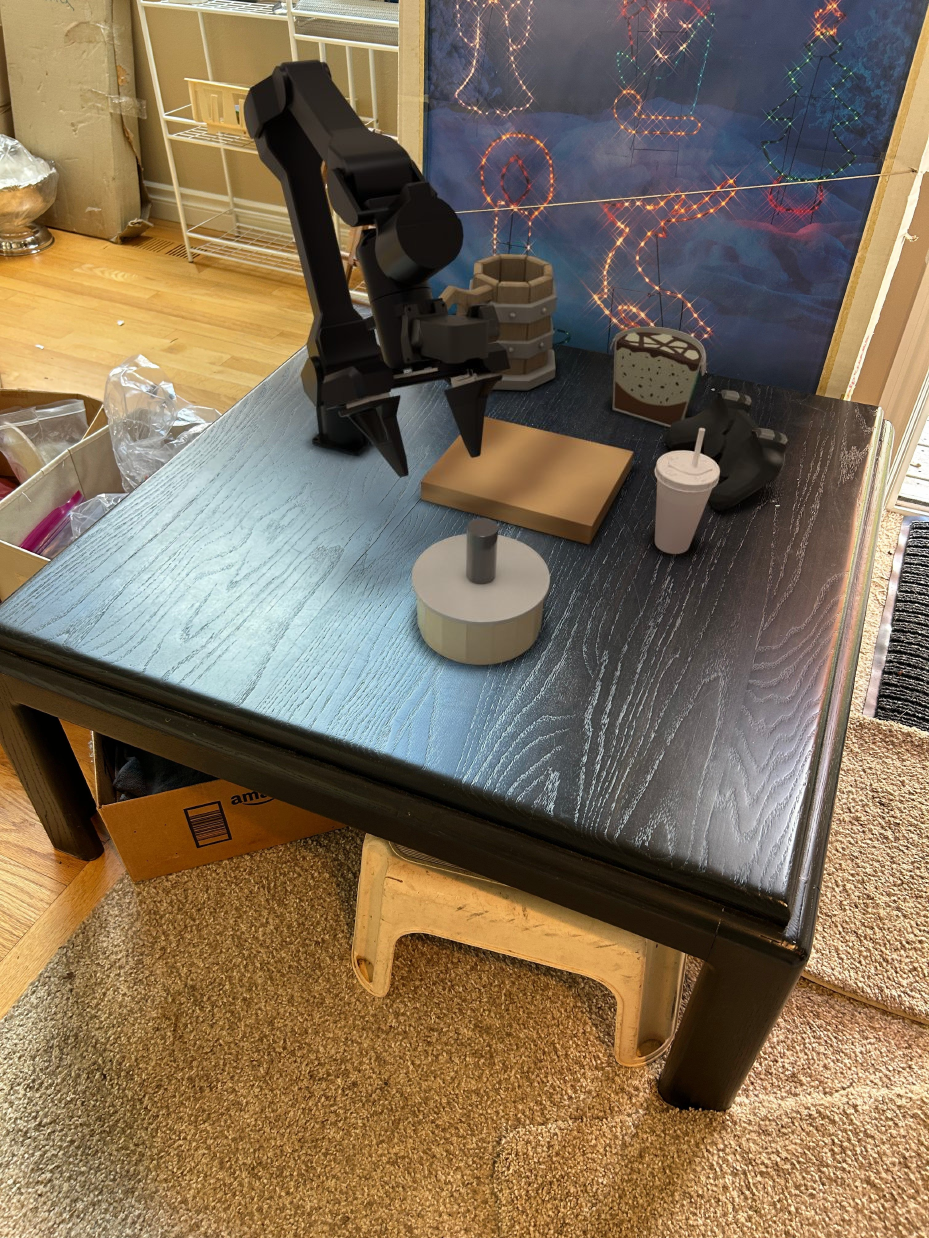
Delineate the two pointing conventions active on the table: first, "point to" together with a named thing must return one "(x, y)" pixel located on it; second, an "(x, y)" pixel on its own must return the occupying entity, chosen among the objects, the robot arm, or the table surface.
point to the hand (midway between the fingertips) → (441, 466)
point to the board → (531, 479)
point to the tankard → (515, 314)
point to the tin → (478, 637)
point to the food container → (655, 373)
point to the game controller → (732, 447)
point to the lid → (480, 577)
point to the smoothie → (682, 495)
